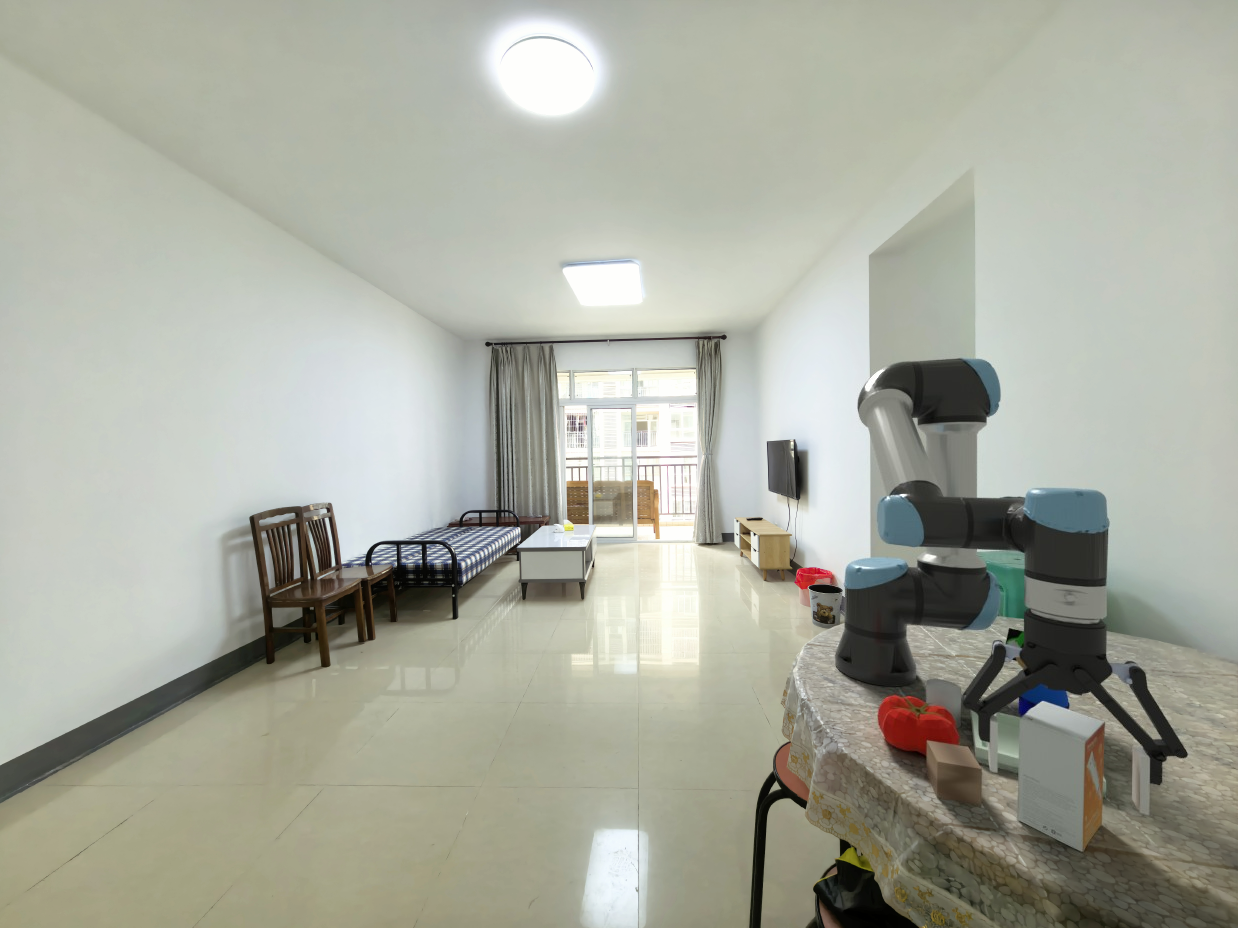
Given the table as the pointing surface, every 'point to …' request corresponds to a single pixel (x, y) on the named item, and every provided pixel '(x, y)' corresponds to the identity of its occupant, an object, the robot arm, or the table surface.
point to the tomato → (915, 723)
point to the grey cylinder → (945, 697)
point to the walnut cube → (954, 773)
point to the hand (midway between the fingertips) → (1062, 785)
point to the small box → (1061, 773)
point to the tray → (1003, 743)
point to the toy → (1039, 692)
